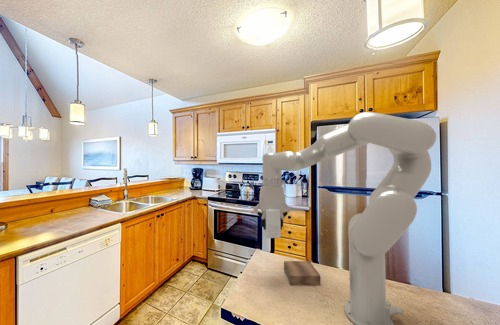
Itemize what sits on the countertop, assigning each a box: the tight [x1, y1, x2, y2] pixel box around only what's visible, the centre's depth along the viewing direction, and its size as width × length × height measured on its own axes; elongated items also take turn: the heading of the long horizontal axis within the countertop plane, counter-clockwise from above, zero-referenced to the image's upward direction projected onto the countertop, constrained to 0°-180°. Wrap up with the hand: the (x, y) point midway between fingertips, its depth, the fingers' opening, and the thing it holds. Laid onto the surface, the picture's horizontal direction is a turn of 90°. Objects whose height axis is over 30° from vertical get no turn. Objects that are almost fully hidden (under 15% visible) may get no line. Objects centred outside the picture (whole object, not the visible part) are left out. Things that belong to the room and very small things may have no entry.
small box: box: [264, 209, 282, 239], centre depth 73 cm, size 8×6×10 cm
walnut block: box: [283, 260, 321, 286], centre depth 78 cm, size 12×12×4 cm
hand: (272, 228), depth 72 cm, fingers closed on small box, 5 cm apart
